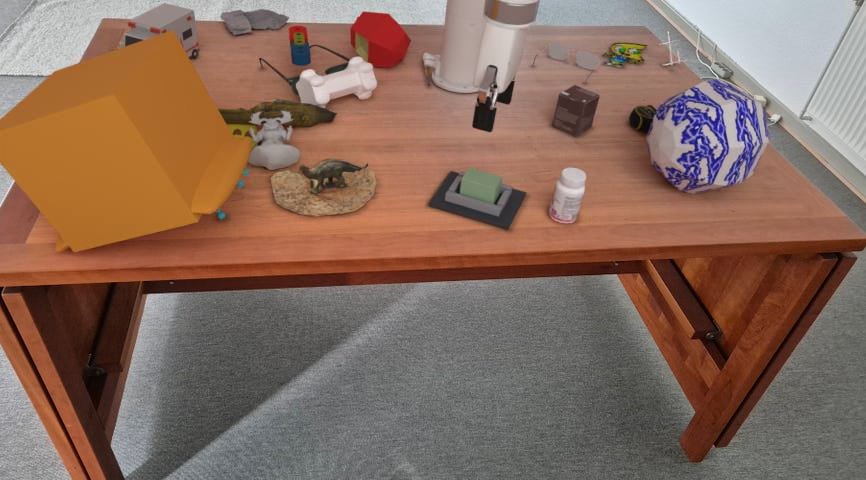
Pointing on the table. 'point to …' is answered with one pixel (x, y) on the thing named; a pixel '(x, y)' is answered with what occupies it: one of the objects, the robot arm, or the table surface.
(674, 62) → the airplane model
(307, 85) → the dog bone
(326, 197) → the dinosaur figurine
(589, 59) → the eyeglasses
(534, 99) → the table surface
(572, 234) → the table surface
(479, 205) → the base
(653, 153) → the ornament
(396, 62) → the red angular block
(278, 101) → the circuit board
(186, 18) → the toy vehicle
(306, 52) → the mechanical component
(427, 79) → the pen
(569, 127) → the box
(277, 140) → the figurine
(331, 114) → the olive long flat piece
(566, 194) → the pill bottle
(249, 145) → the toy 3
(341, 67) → the sunglasses
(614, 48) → the toy
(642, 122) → the tape measure
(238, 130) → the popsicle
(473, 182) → the green rectangular block
